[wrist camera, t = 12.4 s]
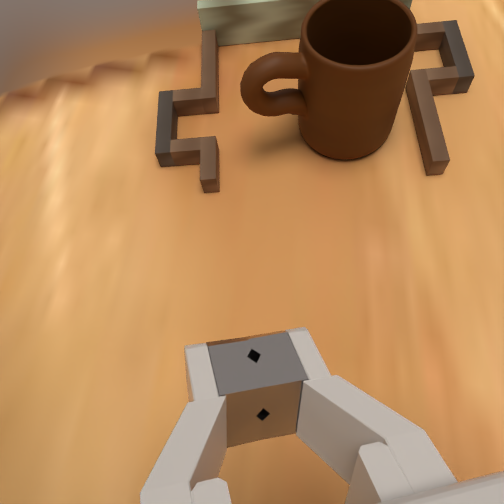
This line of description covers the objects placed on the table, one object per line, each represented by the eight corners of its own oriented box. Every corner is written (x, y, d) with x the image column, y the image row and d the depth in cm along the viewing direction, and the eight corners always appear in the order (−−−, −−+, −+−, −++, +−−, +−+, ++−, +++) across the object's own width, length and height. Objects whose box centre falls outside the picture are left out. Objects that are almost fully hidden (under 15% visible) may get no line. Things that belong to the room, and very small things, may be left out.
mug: (265, 193, 35) (256, 108, 27) (235, 122, 38) (219, 25, 30) (407, 146, 36) (443, 48, 27) (367, 80, 39) (387, -26, 30)
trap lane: (159, 196, 36) (144, 166, 32) (168, 43, 43) (156, 5, 39) (491, 170, 34) (514, 136, 31) (443, 16, 41) (457, -27, 38)
